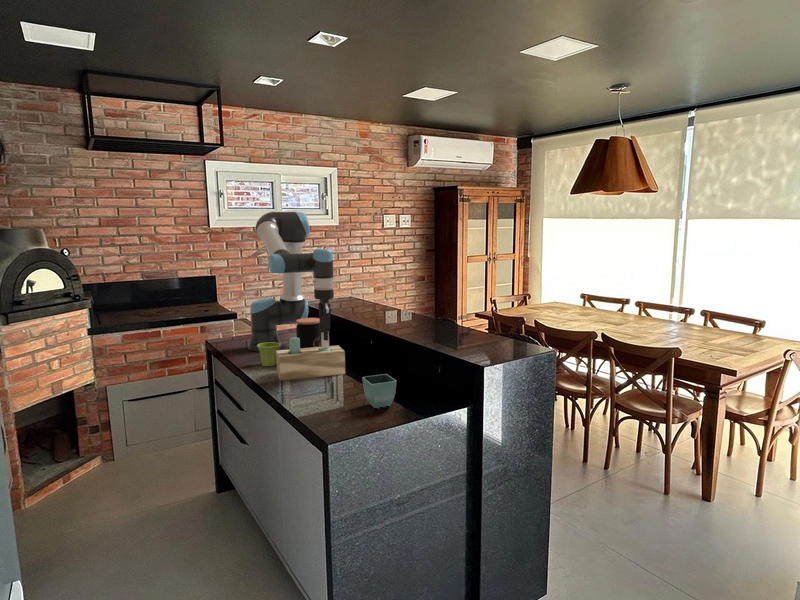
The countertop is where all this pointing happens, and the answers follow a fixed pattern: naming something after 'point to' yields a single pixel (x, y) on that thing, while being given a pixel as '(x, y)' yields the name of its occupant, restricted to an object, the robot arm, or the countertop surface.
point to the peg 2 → (325, 349)
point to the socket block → (310, 363)
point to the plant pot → (268, 353)
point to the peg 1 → (294, 345)
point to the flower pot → (379, 390)
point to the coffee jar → (309, 332)
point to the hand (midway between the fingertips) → (325, 347)
